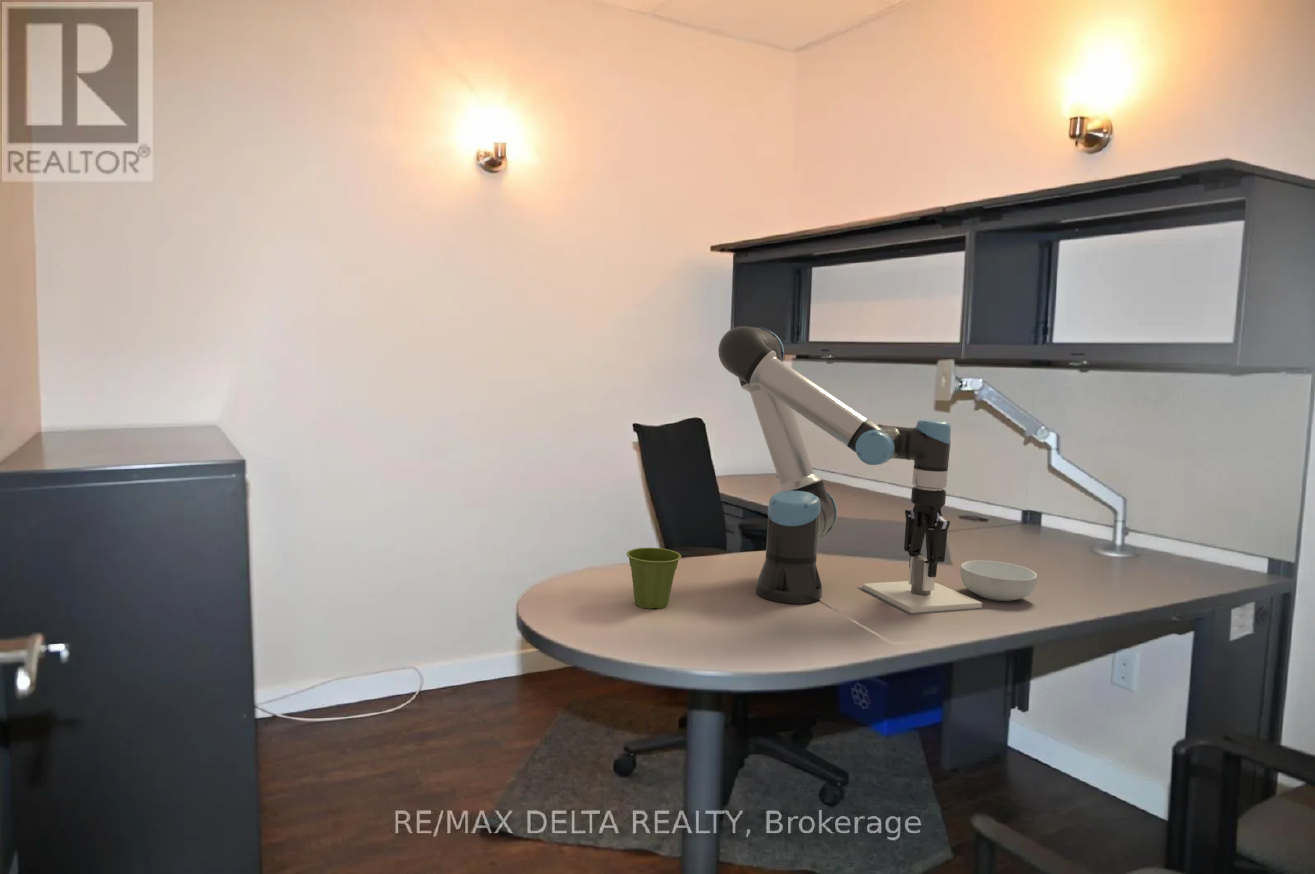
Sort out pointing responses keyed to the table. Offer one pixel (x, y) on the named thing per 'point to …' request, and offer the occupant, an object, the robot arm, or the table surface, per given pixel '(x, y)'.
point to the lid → (921, 593)
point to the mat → (919, 612)
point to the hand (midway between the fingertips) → (921, 586)
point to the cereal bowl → (998, 579)
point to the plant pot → (652, 575)
